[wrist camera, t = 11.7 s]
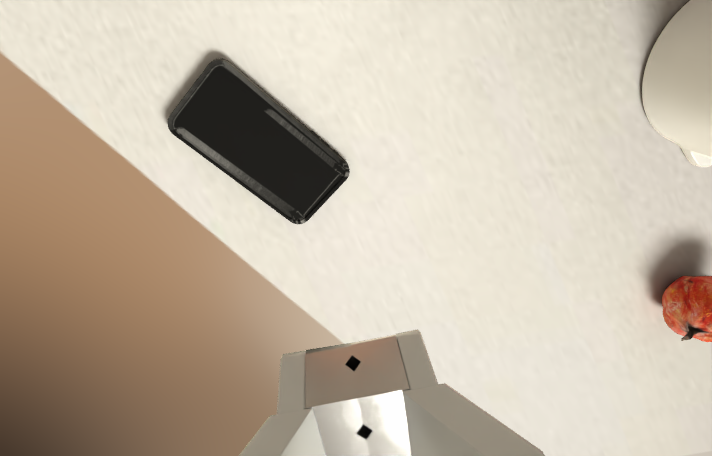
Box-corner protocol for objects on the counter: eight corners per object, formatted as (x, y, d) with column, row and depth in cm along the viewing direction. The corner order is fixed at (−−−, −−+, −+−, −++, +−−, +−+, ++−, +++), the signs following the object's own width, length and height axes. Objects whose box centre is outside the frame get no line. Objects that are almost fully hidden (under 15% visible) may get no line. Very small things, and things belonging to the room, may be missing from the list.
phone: (300, 228, 45) (161, 126, 39) (300, 223, 46) (165, 122, 40) (355, 169, 42) (217, 52, 37) (354, 165, 43) (220, 50, 38)
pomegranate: (686, 244, 54) (654, 293, 48) (767, 267, 49) (740, 324, 44) (673, 292, 58) (642, 342, 53) (746, 317, 53) (720, 374, 48)
